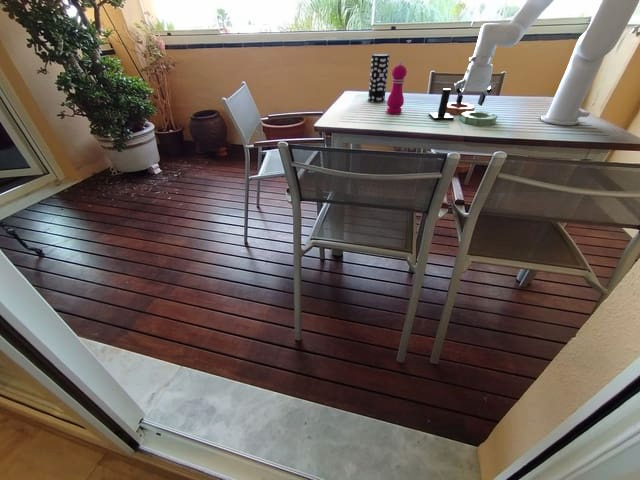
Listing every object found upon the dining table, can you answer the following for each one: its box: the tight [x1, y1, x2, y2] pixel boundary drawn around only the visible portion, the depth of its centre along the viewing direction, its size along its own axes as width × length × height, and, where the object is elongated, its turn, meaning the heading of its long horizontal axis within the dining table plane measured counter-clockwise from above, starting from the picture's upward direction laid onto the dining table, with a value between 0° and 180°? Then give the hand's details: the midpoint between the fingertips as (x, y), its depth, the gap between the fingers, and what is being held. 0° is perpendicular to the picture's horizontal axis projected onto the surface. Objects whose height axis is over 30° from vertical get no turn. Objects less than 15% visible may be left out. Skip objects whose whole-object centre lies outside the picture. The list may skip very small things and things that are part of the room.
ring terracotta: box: [446, 101, 476, 116], centre depth 133 cm, size 12×12×2 cm
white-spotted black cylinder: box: [367, 53, 390, 103], centre depth 146 cm, size 8×8×20 cm
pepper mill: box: [386, 60, 408, 115], centre depth 127 cm, size 7×7×20 cm
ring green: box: [459, 110, 498, 127], centre depth 121 cm, size 12×12×2 cm
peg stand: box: [428, 87, 455, 121], centre depth 123 cm, size 8×8×11 cm
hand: (469, 104), depth 133 cm, fingers open, 9 cm apart
